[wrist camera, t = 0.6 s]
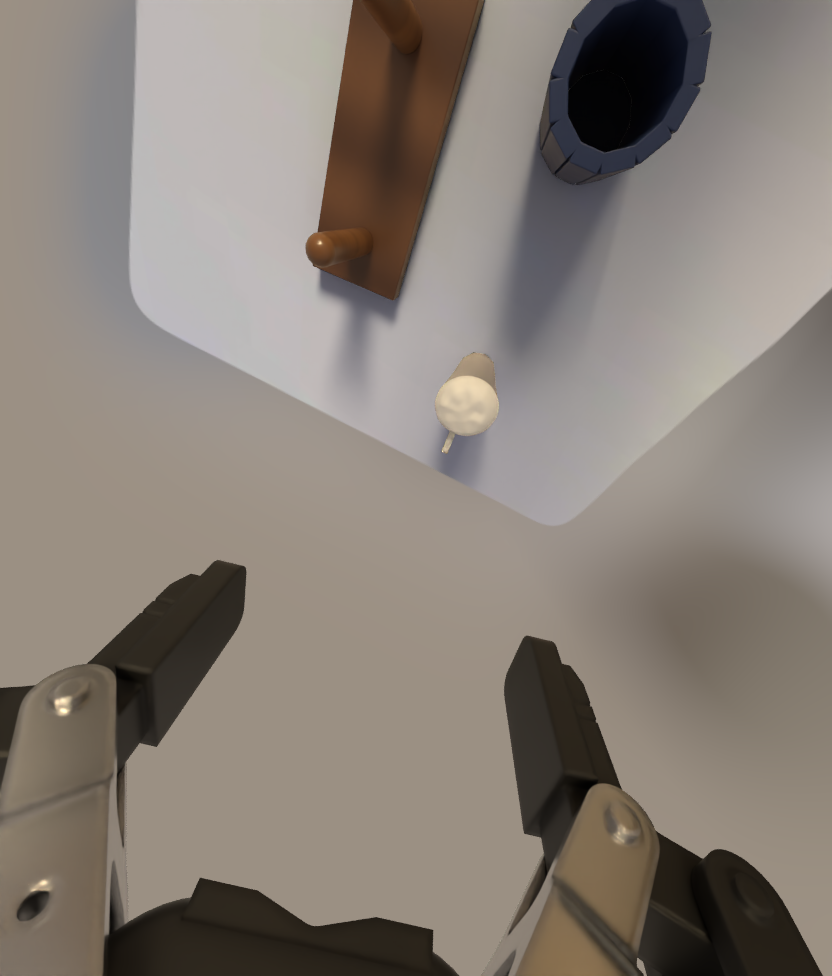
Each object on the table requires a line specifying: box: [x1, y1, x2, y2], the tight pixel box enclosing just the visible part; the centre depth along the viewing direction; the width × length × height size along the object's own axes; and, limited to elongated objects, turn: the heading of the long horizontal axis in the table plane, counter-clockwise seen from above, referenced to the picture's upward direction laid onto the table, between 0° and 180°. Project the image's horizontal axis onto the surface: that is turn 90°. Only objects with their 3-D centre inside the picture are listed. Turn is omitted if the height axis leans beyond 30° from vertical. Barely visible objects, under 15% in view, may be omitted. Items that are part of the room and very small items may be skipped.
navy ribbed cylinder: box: [540, 0, 712, 185], centre depth 20 cm, size 6×6×10 cm
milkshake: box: [435, 352, 499, 454], centre depth 31 cm, size 4×5×10 cm
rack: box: [306, 0, 484, 300], centre depth 23 cm, size 17×7×10 cm, turn 161°
